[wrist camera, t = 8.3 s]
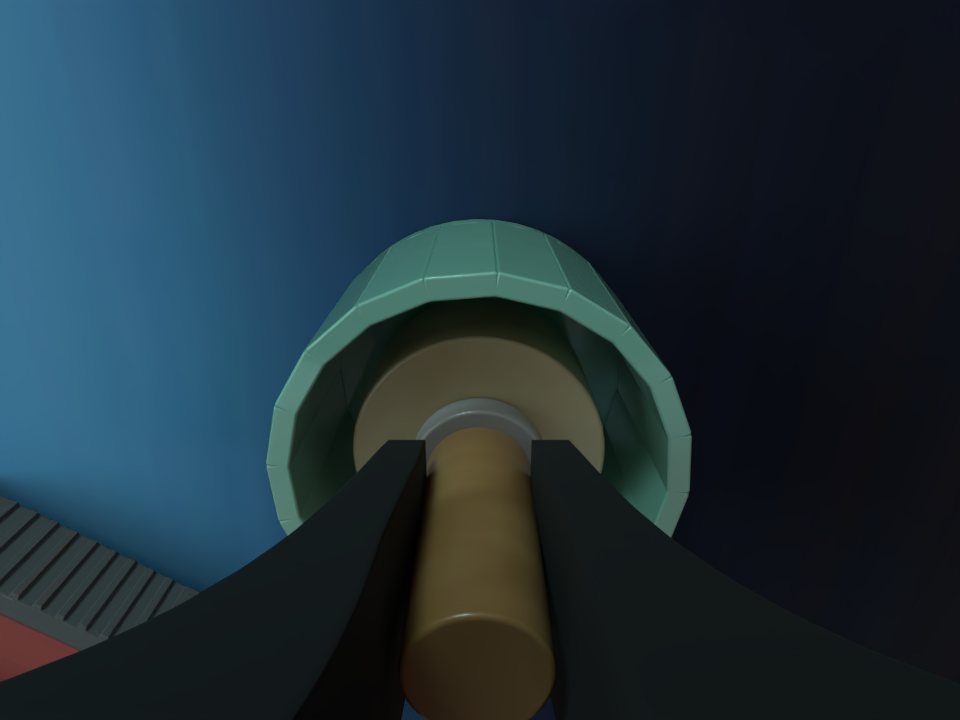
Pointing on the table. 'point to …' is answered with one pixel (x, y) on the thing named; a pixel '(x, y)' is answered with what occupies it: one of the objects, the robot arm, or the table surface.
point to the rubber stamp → (478, 498)
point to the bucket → (465, 275)
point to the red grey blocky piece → (67, 591)
